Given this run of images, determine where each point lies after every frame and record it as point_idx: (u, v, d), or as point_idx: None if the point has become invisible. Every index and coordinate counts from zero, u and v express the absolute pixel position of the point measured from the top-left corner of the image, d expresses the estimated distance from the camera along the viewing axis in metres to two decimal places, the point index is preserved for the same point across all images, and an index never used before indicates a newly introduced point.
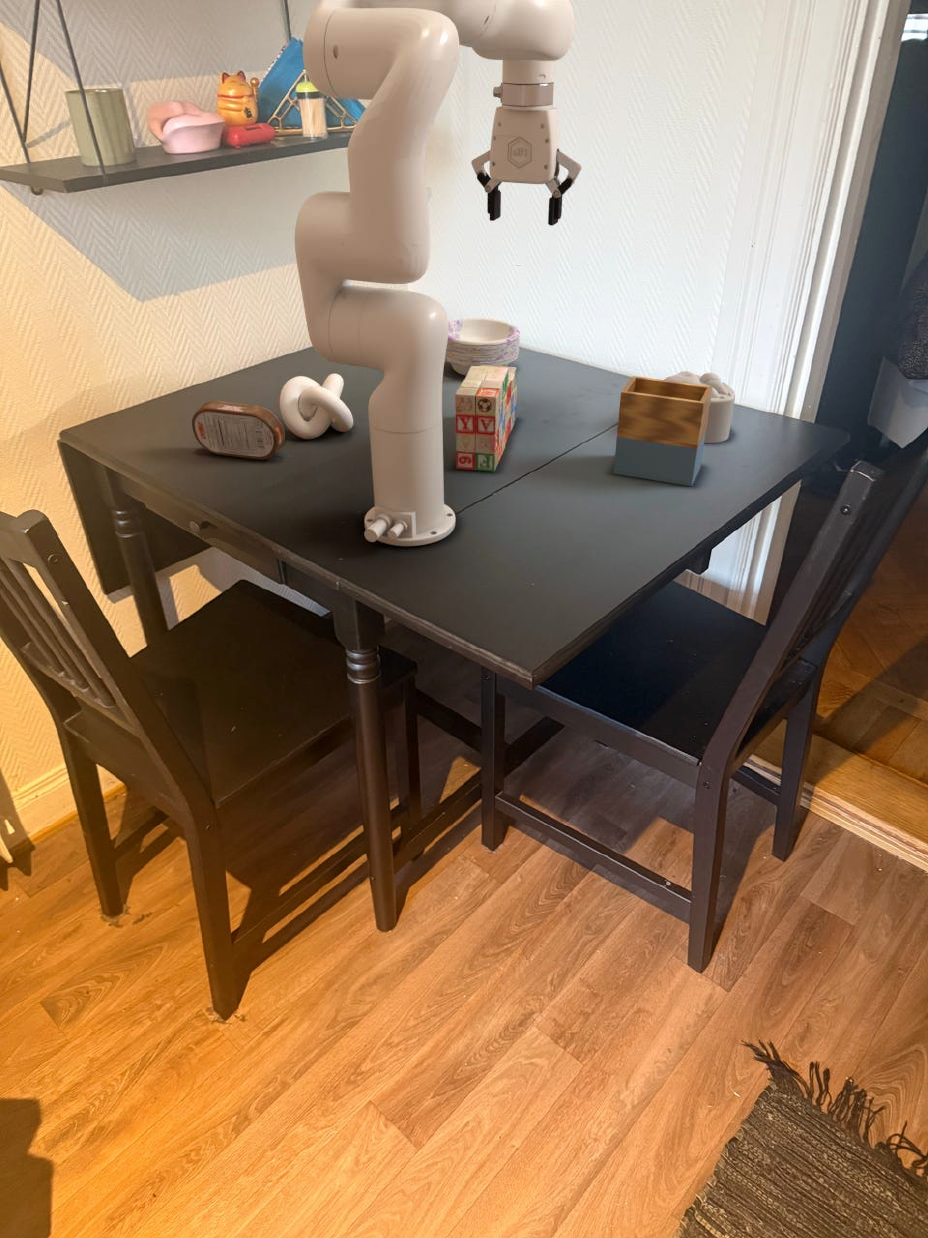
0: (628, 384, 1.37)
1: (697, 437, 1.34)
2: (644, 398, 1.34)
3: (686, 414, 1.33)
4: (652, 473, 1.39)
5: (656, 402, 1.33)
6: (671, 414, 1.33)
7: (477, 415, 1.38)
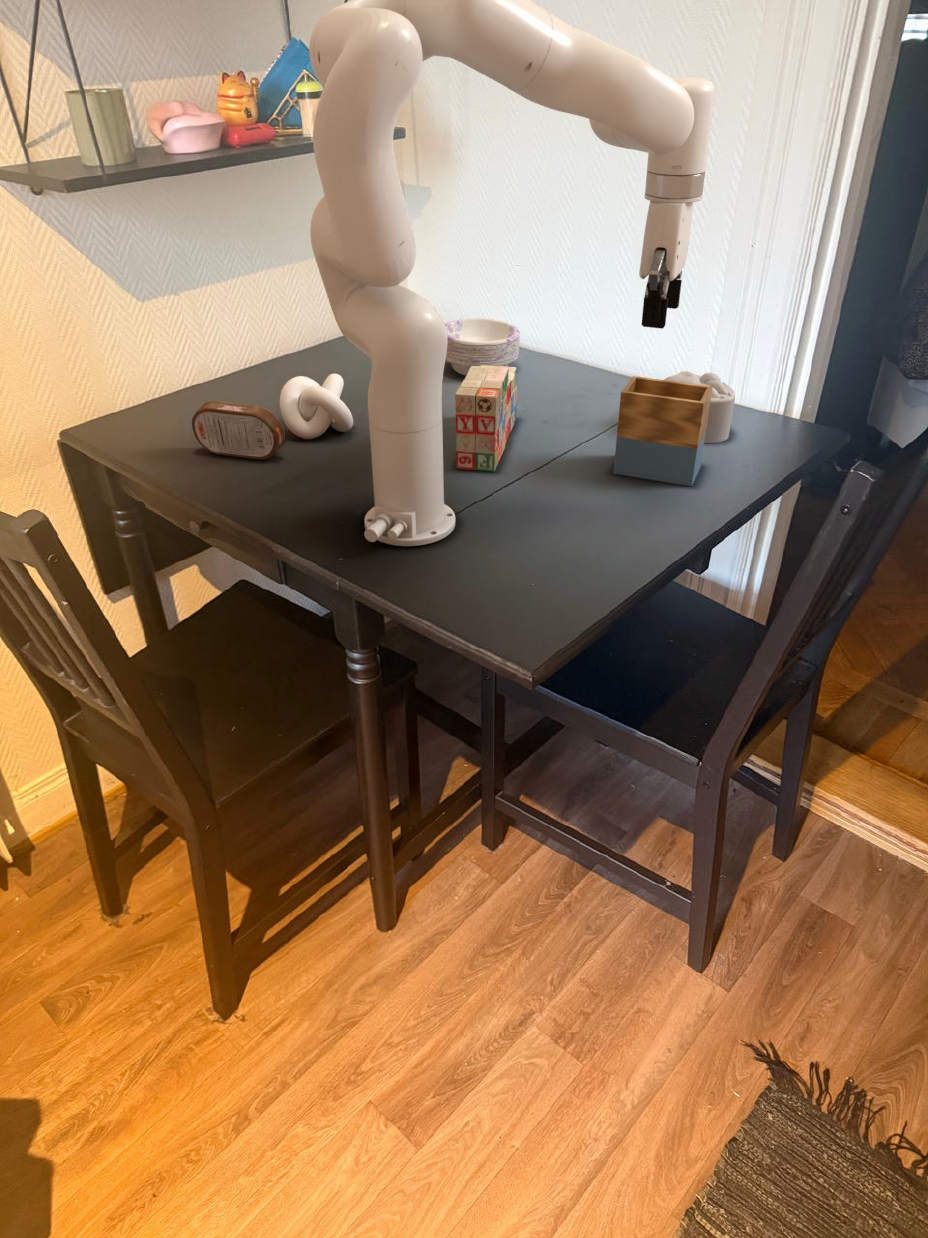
0: (628, 384, 1.37)
1: (697, 437, 1.34)
2: (644, 398, 1.34)
3: (686, 414, 1.33)
4: (652, 473, 1.39)
5: (656, 402, 1.33)
6: (671, 414, 1.33)
7: (477, 415, 1.38)
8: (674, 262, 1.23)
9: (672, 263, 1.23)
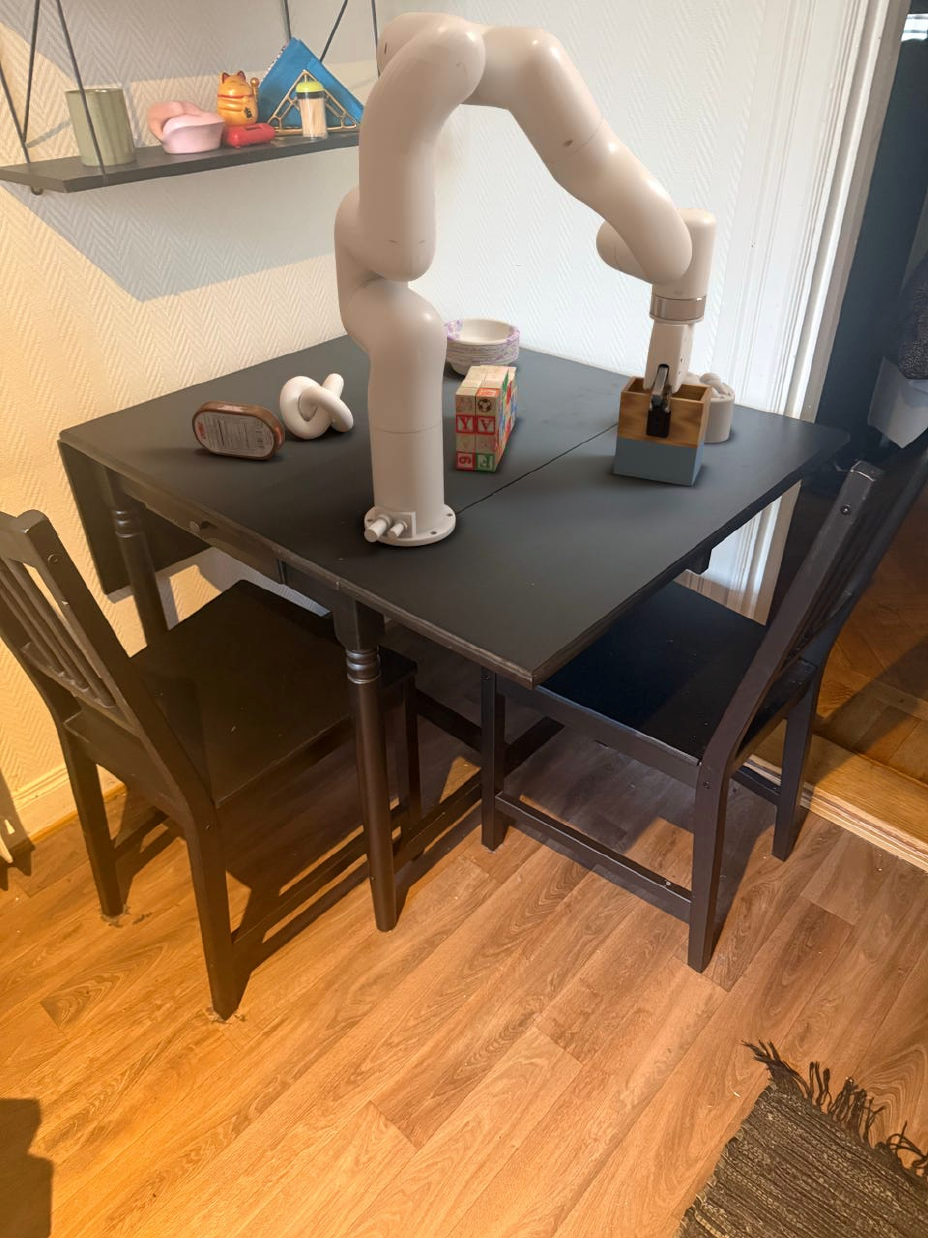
0: (628, 384, 1.37)
1: (697, 437, 1.34)
2: (644, 398, 1.34)
3: (686, 414, 1.33)
4: (652, 473, 1.39)
5: None
6: (671, 414, 1.33)
7: (477, 415, 1.38)
8: (676, 378, 1.29)
9: (674, 378, 1.29)
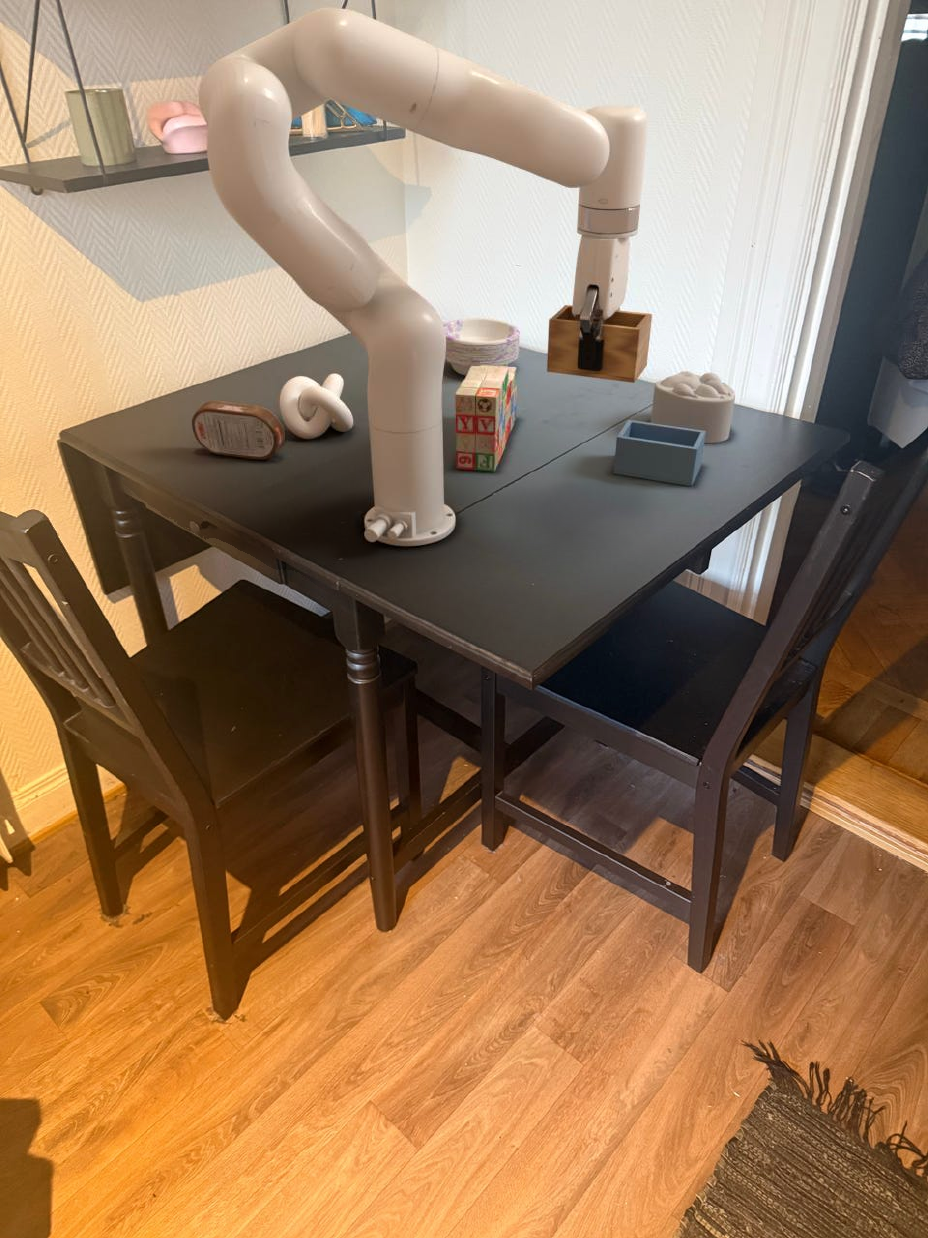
0: (558, 312, 1.23)
1: (634, 369, 1.20)
2: (574, 326, 1.20)
3: (621, 343, 1.19)
4: (652, 473, 1.39)
5: None
6: (604, 343, 1.20)
7: (477, 415, 1.38)
8: (607, 301, 1.15)
9: (605, 301, 1.15)
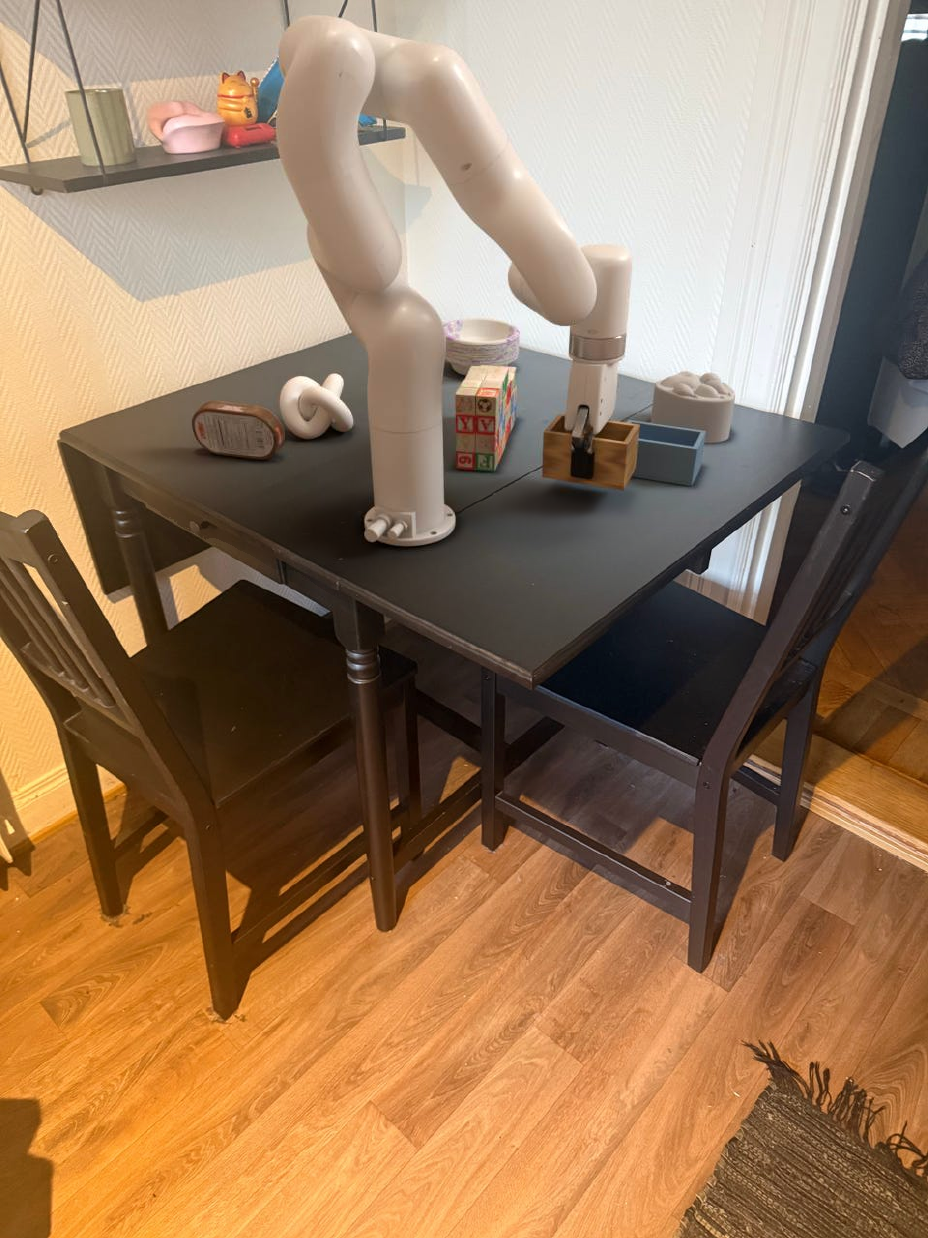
0: (552, 423, 1.32)
1: (623, 478, 1.29)
2: (567, 439, 1.29)
3: (610, 455, 1.28)
4: (652, 473, 1.39)
5: None
6: (595, 455, 1.28)
7: (477, 415, 1.38)
8: (597, 419, 1.24)
9: (595, 419, 1.24)
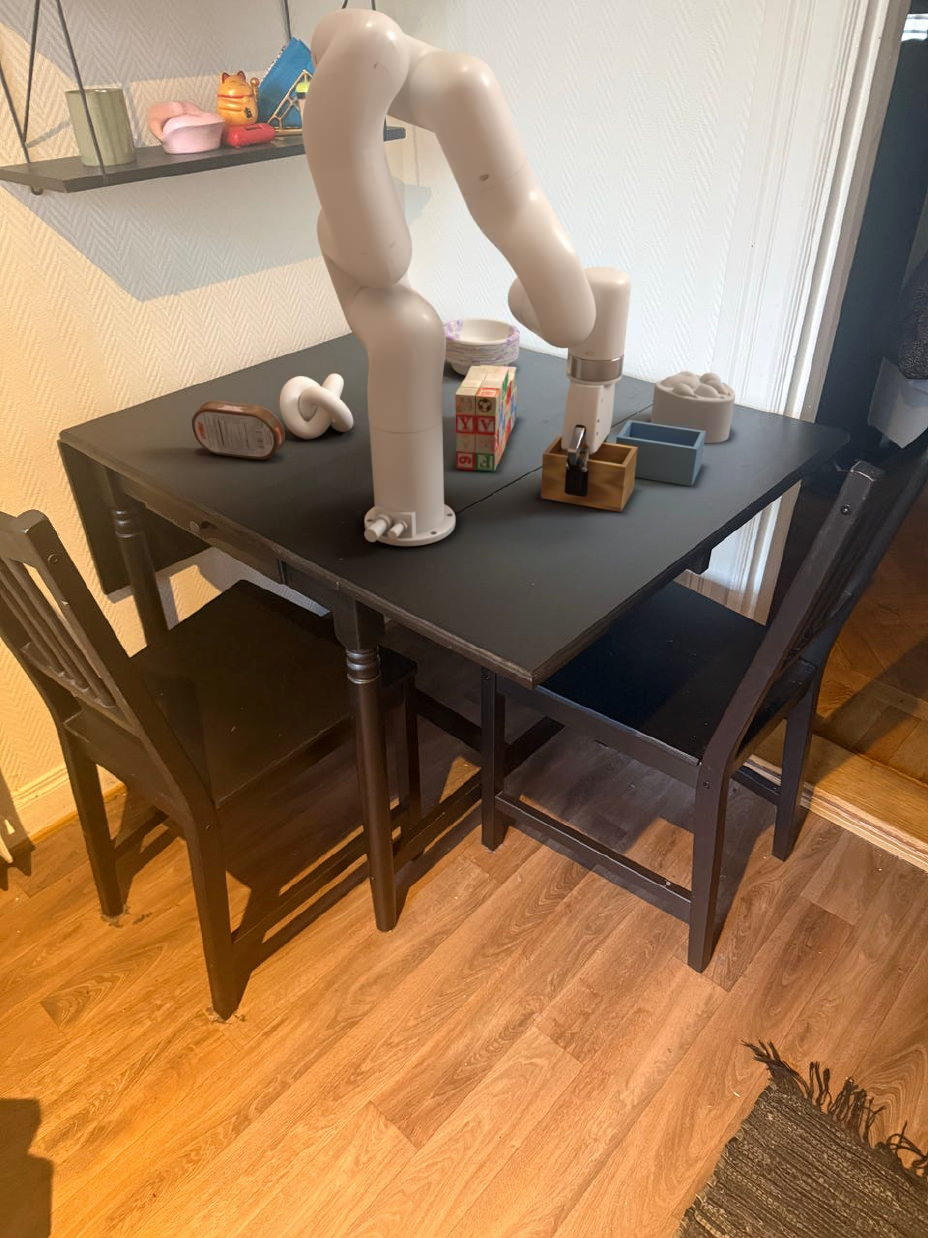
0: (551, 444, 1.34)
1: (620, 500, 1.31)
2: (566, 461, 1.31)
3: (608, 478, 1.29)
4: (652, 473, 1.39)
5: None
6: (593, 477, 1.30)
7: (477, 415, 1.38)
8: (593, 439, 1.26)
9: (592, 439, 1.26)
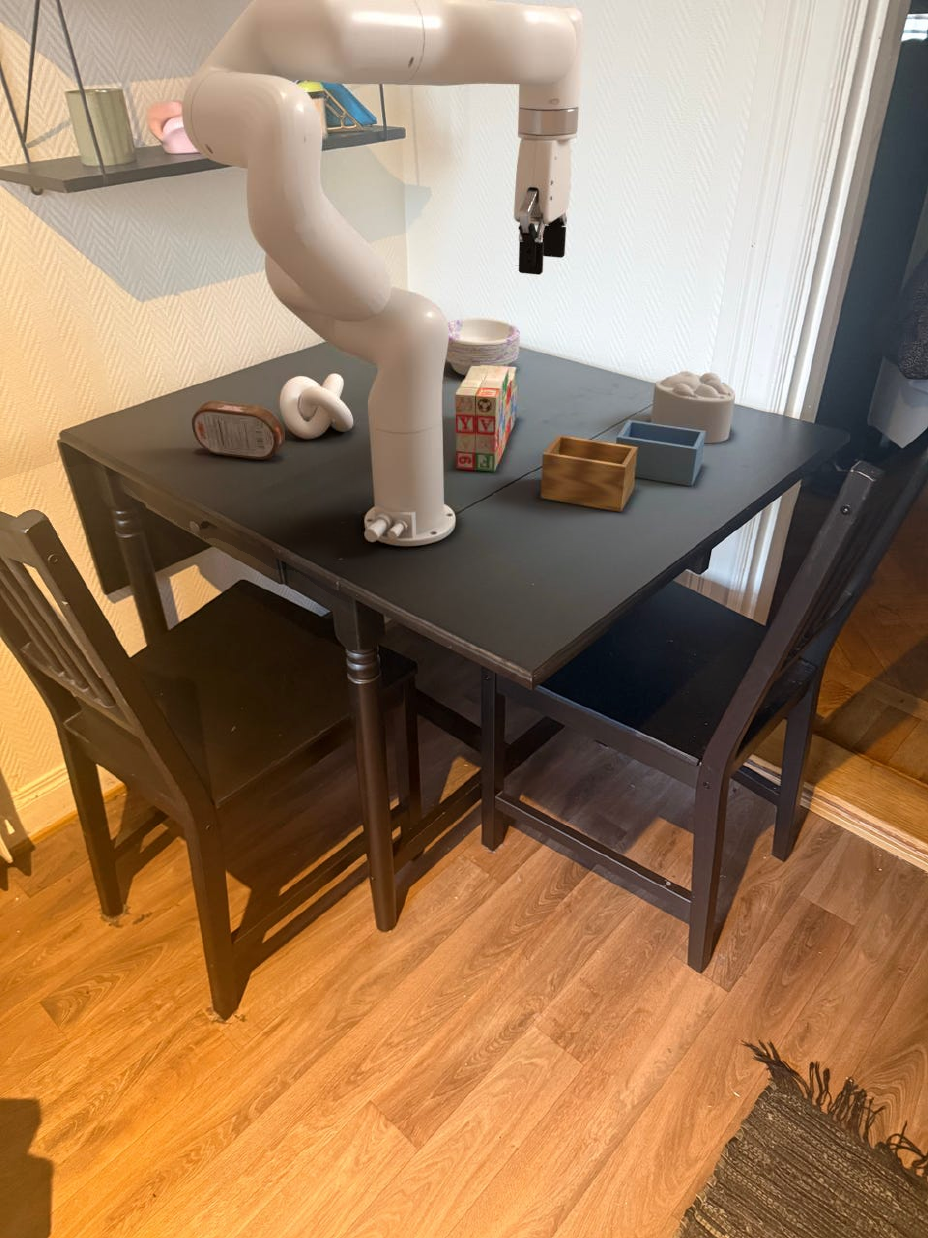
0: (551, 444, 1.34)
1: (620, 500, 1.31)
2: (566, 461, 1.31)
3: (608, 478, 1.29)
4: (652, 473, 1.39)
5: (578, 465, 1.30)
6: (593, 477, 1.30)
7: (477, 415, 1.38)
8: (547, 203, 1.18)
9: (545, 204, 1.18)
